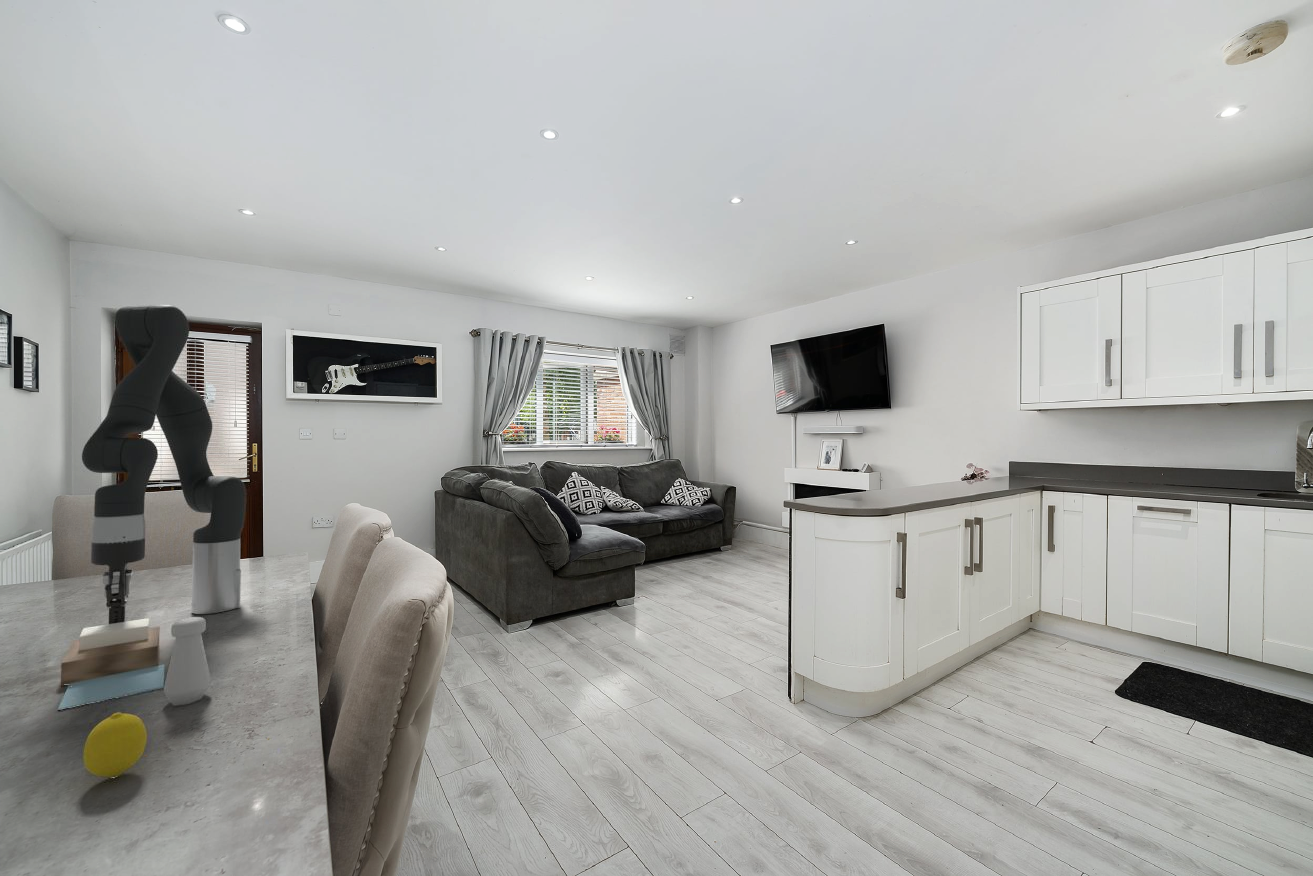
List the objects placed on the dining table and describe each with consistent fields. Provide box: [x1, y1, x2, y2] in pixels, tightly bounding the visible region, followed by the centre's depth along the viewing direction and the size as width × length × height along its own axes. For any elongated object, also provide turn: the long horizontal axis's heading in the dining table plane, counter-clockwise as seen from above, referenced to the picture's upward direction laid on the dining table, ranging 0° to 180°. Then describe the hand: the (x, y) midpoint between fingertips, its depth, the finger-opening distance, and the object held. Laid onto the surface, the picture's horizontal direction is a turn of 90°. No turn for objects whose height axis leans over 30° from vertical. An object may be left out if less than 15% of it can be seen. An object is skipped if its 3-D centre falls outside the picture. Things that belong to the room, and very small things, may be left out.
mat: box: [57, 664, 166, 711], centre depth 91 cm, size 12×12×1 cm
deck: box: [60, 626, 161, 686], centre depth 100 cm, size 12×14×4 cm
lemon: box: [83, 711, 148, 779], centre depth 66 cm, size 6×6×8 cm
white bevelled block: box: [78, 617, 150, 651], centre depth 102 cm, size 9×6×2 cm, turn 132°
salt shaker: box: [163, 616, 212, 707], centre depth 87 cm, size 6×6×13 cm
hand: (116, 625), depth 105 cm, fingers closed
